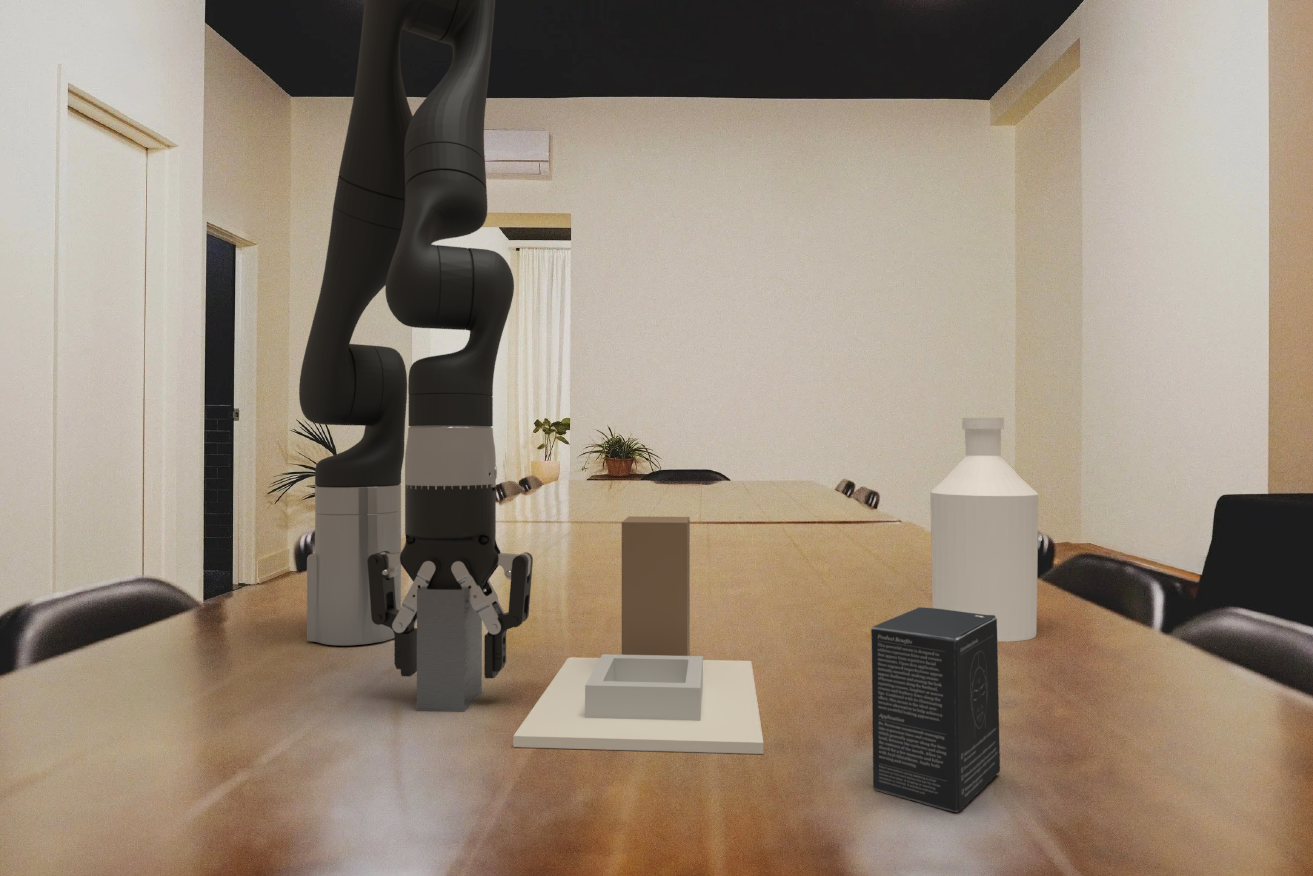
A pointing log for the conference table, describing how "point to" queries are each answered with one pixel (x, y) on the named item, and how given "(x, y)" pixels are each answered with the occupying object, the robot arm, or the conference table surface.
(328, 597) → the robot arm
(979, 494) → the bottle
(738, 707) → the post base
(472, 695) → the tall grey pillar block
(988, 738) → the box
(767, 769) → the conference table surface
